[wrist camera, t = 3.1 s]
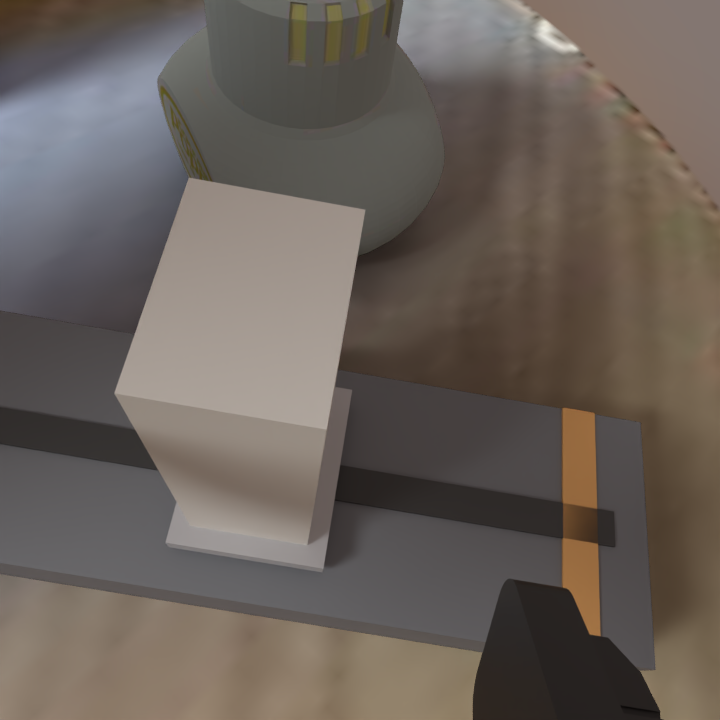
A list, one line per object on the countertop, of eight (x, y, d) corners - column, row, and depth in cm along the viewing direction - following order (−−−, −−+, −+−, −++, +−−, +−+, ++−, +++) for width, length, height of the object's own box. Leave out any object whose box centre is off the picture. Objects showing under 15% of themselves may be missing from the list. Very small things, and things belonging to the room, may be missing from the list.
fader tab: (168, 547, 17) (65, 420, 9) (215, 375, 19) (167, 150, 11) (322, 572, 17) (356, 469, 9) (350, 398, 19) (398, 192, 11)
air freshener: (156, 121, 28) (95, -146, 19) (332, 75, 30) (352, -182, 21) (256, 328, 24) (239, 114, 15) (449, 257, 26) (534, 35, 17)
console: (-61, 563, 19) (-118, 543, 16) (28, 354, 22) (-8, 307, 20) (605, 672, 20) (657, 669, 17) (598, 453, 23) (642, 421, 20)
